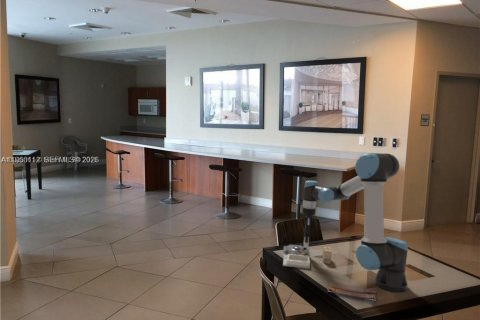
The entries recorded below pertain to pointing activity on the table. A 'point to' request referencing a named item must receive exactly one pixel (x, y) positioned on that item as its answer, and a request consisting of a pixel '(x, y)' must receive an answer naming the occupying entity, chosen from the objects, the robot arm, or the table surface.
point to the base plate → (296, 261)
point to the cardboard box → (327, 255)
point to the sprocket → (296, 250)
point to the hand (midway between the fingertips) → (305, 247)
